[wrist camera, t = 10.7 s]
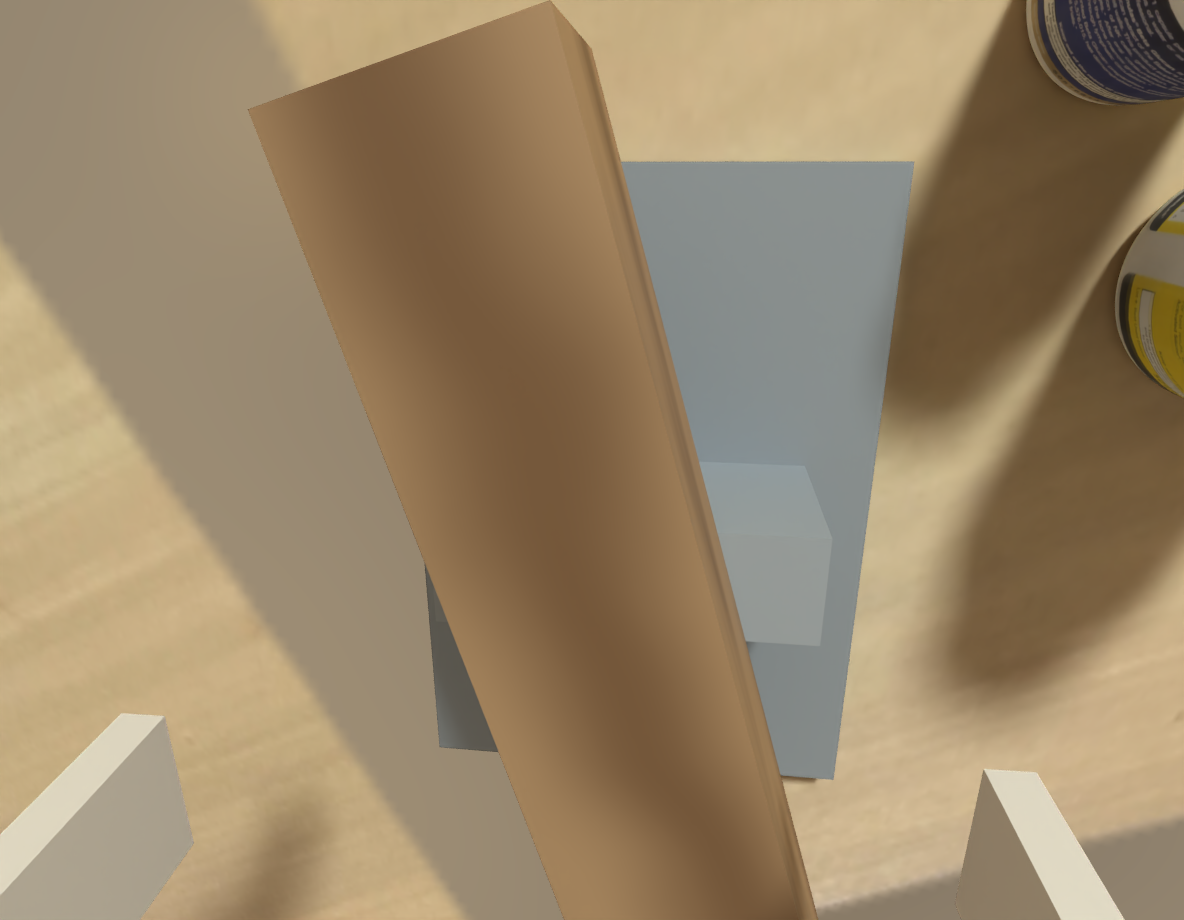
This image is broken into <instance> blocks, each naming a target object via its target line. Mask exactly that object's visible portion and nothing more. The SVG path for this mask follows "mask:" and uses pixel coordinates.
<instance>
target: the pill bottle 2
mask: <svg viewBox="0 0 1184 920" xmlns="http://www.w3.org/2000/svg"><path fill="white" fill-rule="evenodd" d="M1115 316H1116V323H1117V328H1118V332H1119V335H1120V338H1121V341H1122V343H1123V346H1124V348H1125V350H1126V351H1127V353H1128V355H1129V357H1130V358H1131V359H1132V361H1133V362H1134V363H1135V365H1136V366H1137V367H1138V368H1139V369H1140V370H1141V371H1142V372H1143V373H1144V374H1145V375H1146V376H1147V377H1149V378H1150V379H1151V380H1152V381H1154V382H1155V383H1157V384H1158V385H1159V386H1161V387H1163V388H1164V389H1166V390H1168V391H1170V392H1172V393H1174V394H1176V395H1178V396H1180V397H1182V398H1184V189H1183V190H1181V191H1180V192H1178V193H1177V194H1176V195H1174V196H1173V197H1172V198H1171V199H1170V200H1168V201H1167V202H1166V203H1165V204H1164V205H1163V206H1162V207H1161V208H1160V209H1159V210H1158V211H1157V212H1156V213H1155V214H1154V215H1153V216H1152V217H1151V219H1150V220H1149V221H1148V222H1147V224H1146V225H1145V226H1144V227H1143V229H1142V230H1141V231H1140V233H1139V234H1138V236H1137V237H1136V239H1135V241H1134V242H1133V244H1132V246H1131V248H1130V250H1129V252H1128V254H1127V256H1126V258H1125V260H1124V263H1123V265H1122V268H1121V272H1120V275H1119V278H1118V283H1117V289H1116V296H1115Z"/></svg>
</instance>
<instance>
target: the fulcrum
mask: <svg viewBox="0 0 1184 920" xmlns="http://www.w3.org/2000/svg"><path fill="white" fill-rule="evenodd" d="M621 164H622V168H623V172H624V176H625V180H626V183H627V187H628V191H629V195H630V199H631V203H632V206H633V210H634V214H635V218H636V222H637V226H638V230H639V233H640V237H641V241H642V245H643V249H644V253H645V256H646V260H647V264H648V268H649V272H650V276H651V279H652V283H653V287H654V291H655V295H656V299H657V302H658V306H659V310H660V314H661V318H662V322H663V326H664V329H665V333H666V337H667V341H668V345H669V349H670V352H671V356H672V360H673V364H674V368H675V372H676V375H677V379H678V383H679V387H680V391H681V395H682V398H683V402H684V406H685V410H686V414H687V418H688V422H689V425H690V429H691V433H692V437H693V441H694V445H695V448H696V452H697V456H698V460H699V464H700V468H701V471H702V475H703V479H704V483H705V487H706V491H707V495H708V498H709V502H710V506H711V510H712V514H713V518H714V521H715V525H716V529H717V533H718V537H719V541H720V544H721V548H722V552H723V556H724V560H725V564H726V567H727V571H728V575H729V579H730V583H731V587H732V591H733V594H734V598H735V602H736V606H737V610H738V614H739V617H740V621H741V625H742V629H743V633H744V637H745V640H746V644H747V648H748V652H749V656H750V660H751V663H752V667H753V671H754V675H755V679H756V683H757V687H758V690H759V694H760V698H761V702H762V706H763V710H764V713H765V717H766V721H767V725H768V729H769V733H770V736H771V740H772V744H773V748H774V752H775V756H776V759H777V763H778V767H779V771H780V775H782V776H794V777H806V778H819V779H831V780H833V779H834V771H835V764H836V756H837V748H838V741H839V733H840V725H841V718H842V710H843V703H844V695H845V687H846V680H847V672H848V664H849V657H850V649H851V641H852V634H853V626H854V618H855V611H856V603H857V596H858V588H859V580H860V573H861V565H862V557H863V550H864V542H865V534H866V527H867V519H868V511H869V504H870V496H871V489H872V481H873V473H874V466H875V458H876V450H877V443H878V435H879V427H880V420H881V412H882V405H883V397H884V389H885V382H886V374H887V366H888V359H889V351H890V343H891V336H892V328H893V320H894V313H895V305H896V298H897V290H898V282H899V275H900V267H901V259H902V252H903V244H904V236H905V229H906V221H907V213H908V206H909V198H910V191H911V183H912V175H913V168H914V162H621ZM425 573H426V585H427V597H428V609H429V622H430V634H431V645H432V658H433V669H434V670H433V671H434V683H435V695H436V707H437V720H438V731H439V744H440V747H444V748H456V749H468V750H481V751H493V752H499V751H498V749H497V746H496V744H495V741H494V739H493V736H492V734H491V731H490V728H489V726H488V723H487V721H486V718H485V716H484V713H483V710H482V708H481V705H480V703H479V700H478V698H477V695H476V693H475V690H474V687H473V685H472V682H471V680H470V677H469V675H468V672H467V669H466V667H465V664H464V662H463V659H462V657H461V654H460V652H459V649H458V646H457V644H456V641H455V639H454V636H453V634H452V631H451V628H450V626H449V623H448V621H447V618H446V616H445V613H444V611H443V608H442V605H441V603H440V600H439V598H438V595H437V593H436V590H435V588H434V585H433V582H432V580H431V577H430V575H429V572H428V570H427V567H426V564H425Z"/></svg>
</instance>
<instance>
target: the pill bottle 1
mask: <svg viewBox="0 0 1184 920" xmlns="http://www.w3.org/2000/svg"><path fill="white" fill-rule="evenodd" d="M1026 18H1027V29H1028V35H1029V39H1030V42H1031V46H1032V48H1033V51H1034V53H1035V56H1036V58H1037V59H1038V61H1039V63H1040V65H1041V66H1042V68H1043V69H1044V71H1045V72H1046V73H1047V75H1048V76H1049V77H1050V78H1051V79H1052V80H1053V81H1054V82H1055V83H1056V84H1058V85H1059V86H1060V87H1061V88H1063V89H1064V90H1066V91H1067V92H1069V93H1071V94H1072V95H1074V96H1077V97H1079V98H1081V99H1084V100H1087V101H1090V102H1094V103H1098V104H1105V105H1136V104H1145V103H1151V102H1157V101H1162V100H1169V99H1176V98H1182V97H1184V0H1027V3H1026Z"/></svg>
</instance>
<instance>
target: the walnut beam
mask: <svg viewBox="0 0 1184 920" xmlns="http://www.w3.org/2000/svg"><path fill="white" fill-rule="evenodd" d="M248 111H249V114H250V116H251V119H252V121H253V124H254V126H255V129H256V132H257V134H258V137H259V139H260V142H261V144H262V147H263V150H264V152H265V155H266V157H267V160H268V162H269V165H270V167H271V170H272V172H273V175H274V177H275V180H276V183H277V185H278V188H279V190H280V193H281V196H282V198H283V201H284V203H285V206H286V208H287V211H288V213H289V216H290V219H291V221H292V224H293V226H294V229H295V231H296V234H297V237H298V239H299V241H300V244H301V247H302V249H303V252H304V255H305V257H306V260H307V262H308V265H309V267H310V270H311V272H312V275H313V278H314V280H315V283H316V285H317V288H318V290H319V293H320V295H321V298H322V301H323V303H324V306H325V308H326V311H327V313H328V316H329V319H330V321H331V323H332V326H333V329H334V331H335V334H336V336H337V339H338V341H339V344H340V347H341V349H342V352H343V354H344V357H345V360H346V362H347V365H348V367H349V370H350V372H351V375H352V377H353V380H354V383H355V385H356V388H357V390H358V393H359V395H360V398H361V401H362V403H363V405H364V408H365V411H366V413H367V416H368V418H369V421H370V423H371V426H372V429H373V431H374V434H375V436H376V439H377V441H378V444H379V446H380V449H381V452H382V454H383V457H384V459H385V462H386V464H387V467H388V470H389V472H390V475H391V477H392V480H393V483H394V485H395V488H396V490H397V493H398V495H399V498H400V500H401V503H402V505H403V508H404V511H405V513H406V516H407V518H408V521H409V523H410V526H411V529H412V531H413V534H414V536H415V539H416V541H417V544H418V547H419V549H420V552H421V554H422V557H423V559H424V561H425V564H426V567H427V570H428V572H429V575H430V577H431V580H432V582H433V585H434V588H435V590H436V593H437V595H438V598H439V600H440V603H441V605H442V608H443V611H444V613H445V616H446V618H447V621H448V623H449V626H450V628H451V631H452V634H453V636H454V639H455V641H456V644H457V646H458V649H459V652H460V654H461V657H462V659H463V662H464V664H465V667H466V669H467V672H468V675H469V677H470V680H471V682H472V685H473V687H474V690H475V693H476V695H477V698H478V700H479V703H480V705H481V708H482V710H483V713H484V716H485V718H486V721H487V723H488V726H489V728H490V731H491V734H492V736H493V739H494V741H495V744H496V746H497V749H498V751H499V754H500V756H501V759H502V762H503V764H504V767H505V769H506V772H507V774H508V777H509V780H510V782H511V785H512V787H513V790H514V792H515V795H516V797H517V800H518V803H519V805H520V808H521V810H522V813H523V815H524V818H525V820H526V823H527V826H528V828H529V831H530V833H531V836H532V838H533V841H534V844H535V846H536V849H537V851H538V854H539V856H540V859H541V861H542V864H543V867H544V869H545V872H546V874H547V877H548V879H549V882H550V885H551V887H552V890H553V892H554V895H555V897H556V900H557V902H558V905H559V908H560V910H561V913H562V915H563V918H564V920H818V917H817V913H816V909H815V905H814V902H813V898H812V894H811V890H810V886H809V882H808V879H807V875H806V871H805V867H804V863H803V859H802V856H801V852H800V848H799V844H798V840H797V836H796V832H795V829H794V825H793V821H792V817H791V813H790V809H789V806H788V802H787V798H786V794H785V790H784V786H783V783H782V779H781V775H780V771H779V767H778V763H777V759H776V756H775V752H774V748H773V744H772V740H771V736H770V733H769V729H768V725H767V721H766V717H765V713H764V710H763V706H762V702H761V698H760V694H759V690H758V687H757V683H756V679H755V675H754V671H753V667H752V663H751V660H750V656H749V652H748V648H747V644H746V640H745V637H744V633H743V629H742V625H741V621H740V617H739V614H738V610H737V606H736V602H735V598H734V594H733V591H732V587H731V583H730V579H729V575H728V571H727V567H726V564H725V560H724V556H723V552H722V548H721V544H720V541H719V537H718V533H717V529H716V525H715V521H714V518H713V514H712V510H711V506H710V502H709V498H708V495H707V491H706V487H705V483H704V479H703V475H702V471H701V468H700V464H699V460H698V456H697V452H696V448H695V445H694V441H693V437H692V433H691V429H690V425H689V422H688V418H687V414H686V410H685V406H684V402H683V398H682V395H681V391H680V387H679V383H678V379H677V375H676V372H675V368H674V364H673V360H672V356H671V352H670V349H669V345H668V341H667V337H666V333H665V329H664V326H663V322H662V318H661V314H660V310H659V306H658V302H657V299H656V295H655V291H654V287H653V283H652V279H651V276H650V272H649V268H648V264H647V260H646V256H645V253H644V249H643V245H642V241H641V237H640V233H639V230H638V226H637V222H636V218H635V214H634V210H633V206H632V203H631V199H630V195H629V191H628V187H627V183H626V180H625V176H624V172H623V168H622V164H621V160H620V157H619V153H618V149H617V145H616V141H615V137H614V134H613V130H612V126H611V122H610V118H609V114H608V110H607V107H606V103H605V99H604V95H603V91H602V87H601V84H600V80H599V76H598V72H597V68H596V64H595V61H594V57H593V53H592V49H591V48H590V46H589V45H588V44H587V43H586V42H585V41H584V39H583V38H582V37H581V36H580V35H579V34H578V32H577V31H576V30H575V29H574V28H573V26H572V25H571V24H570V23H569V22H568V21H567V19H566V18H565V17H564V16H563V15H562V14H561V12H560V11H559V10H558V9H557V8H556V6H555V5H554V4H553V3H552V2H551V1H550V0H549V1H546V2H543V3H541V4H538V5H535V6H532V7H530V8H527V9H524V10H521V11H519V12H516V13H513V14H510V15H507V16H505V17H502V18H499V19H496V20H494V21H491V22H488V23H485V24H483V25H480V26H477V27H474V28H472V29H469V30H466V31H463V32H460V33H458V34H455V35H452V36H449V37H447V38H444V39H441V40H438V41H436V42H433V43H430V44H427V45H425V46H422V47H419V48H416V49H413V50H411V51H408V52H405V53H402V54H400V55H397V56H394V57H391V58H389V59H386V60H383V61H380V62H377V63H375V64H372V65H369V66H366V67H364V68H361V69H358V70H355V71H353V72H350V73H347V74H344V75H342V76H339V77H336V78H333V79H330V80H328V81H325V82H322V83H319V84H317V85H314V86H311V87H308V88H306V89H303V90H300V91H297V92H295V93H292V94H289V95H286V96H283V97H281V98H278V99H275V100H272V101H270V102H267V103H264V104H262V105H259V106H256V107H253V108H250V109H248Z"/></svg>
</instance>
